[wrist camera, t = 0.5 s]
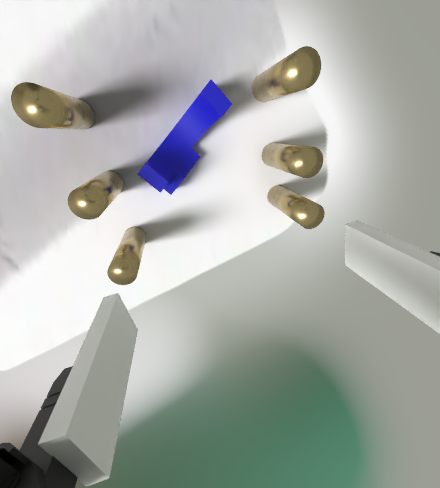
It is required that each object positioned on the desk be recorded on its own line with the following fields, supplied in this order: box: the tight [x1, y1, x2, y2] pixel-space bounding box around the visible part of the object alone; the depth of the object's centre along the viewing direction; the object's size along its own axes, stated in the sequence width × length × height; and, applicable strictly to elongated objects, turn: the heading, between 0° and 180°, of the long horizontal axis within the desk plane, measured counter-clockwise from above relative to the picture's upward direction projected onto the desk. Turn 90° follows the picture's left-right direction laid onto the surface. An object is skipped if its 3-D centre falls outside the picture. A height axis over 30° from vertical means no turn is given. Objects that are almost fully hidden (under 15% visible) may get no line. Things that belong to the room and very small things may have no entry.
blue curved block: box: [138, 80, 232, 194], centre depth 28 cm, size 12×4×6 cm, turn 137°
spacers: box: [11, 46, 324, 285], centre depth 27 cm, size 19×25×10 cm
